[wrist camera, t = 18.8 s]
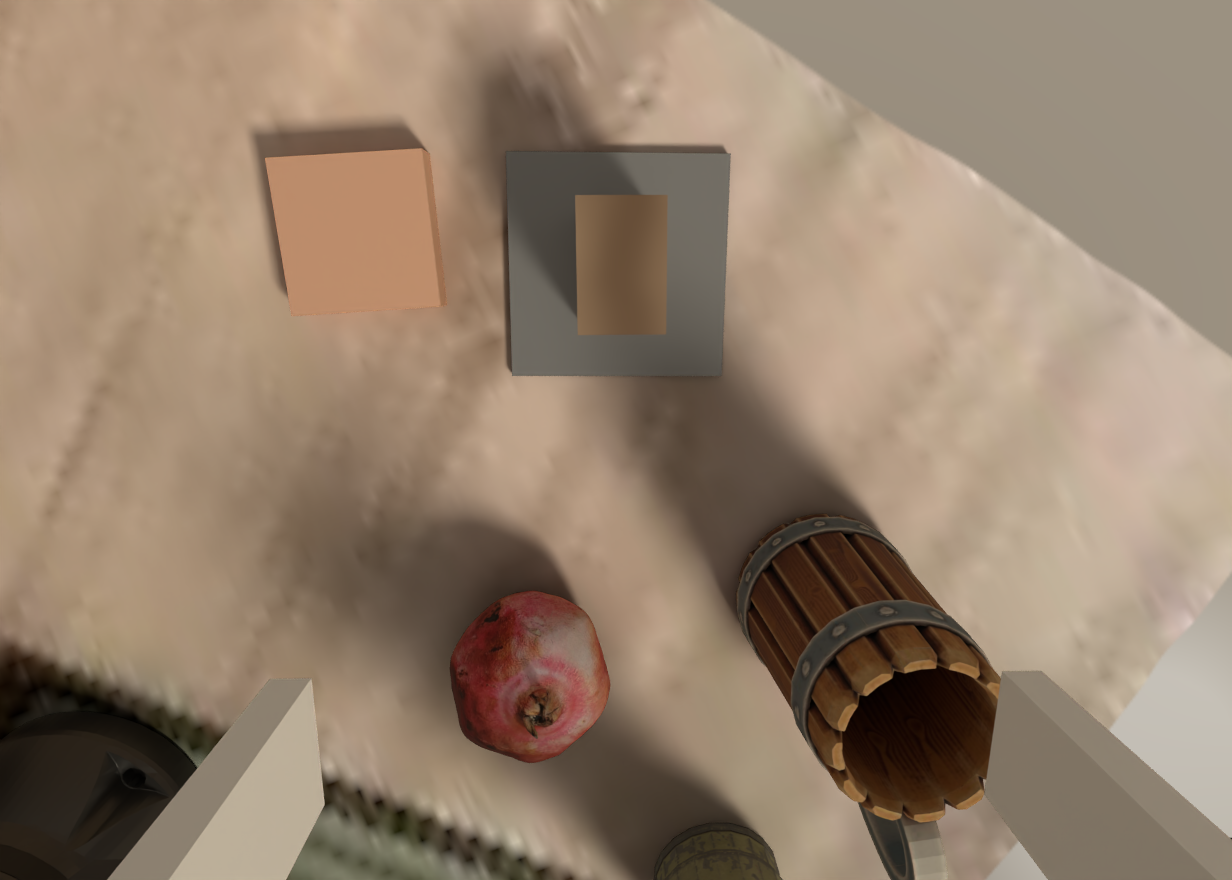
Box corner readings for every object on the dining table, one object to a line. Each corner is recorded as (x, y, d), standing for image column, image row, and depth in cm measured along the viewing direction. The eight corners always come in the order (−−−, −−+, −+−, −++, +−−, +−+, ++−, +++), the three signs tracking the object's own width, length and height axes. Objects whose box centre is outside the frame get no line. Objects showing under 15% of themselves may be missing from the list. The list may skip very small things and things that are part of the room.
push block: (581, 323, 39) (577, 335, 32) (579, 211, 38) (575, 195, 30) (652, 322, 40) (666, 334, 32) (653, 211, 38) (667, 194, 30)
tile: (291, 316, 38) (264, 157, 36) (307, 313, 40) (282, 164, 38) (440, 306, 38) (421, 148, 36) (448, 304, 40) (431, 155, 38)
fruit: (469, 710, 45) (434, 828, 36) (458, 574, 43) (418, 661, 34) (610, 705, 46) (614, 821, 36) (606, 569, 43) (609, 654, 34)
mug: (722, 523, 43) (788, 650, 28) (894, 496, 43) (1047, 610, 28) (750, 743, 47) (821, 956, 32) (908, 718, 46) (1052, 921, 32)
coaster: (513, 374, 40) (512, 375, 40) (506, 152, 38) (505, 151, 37) (720, 374, 41) (721, 376, 40) (728, 155, 38) (730, 153, 38)
